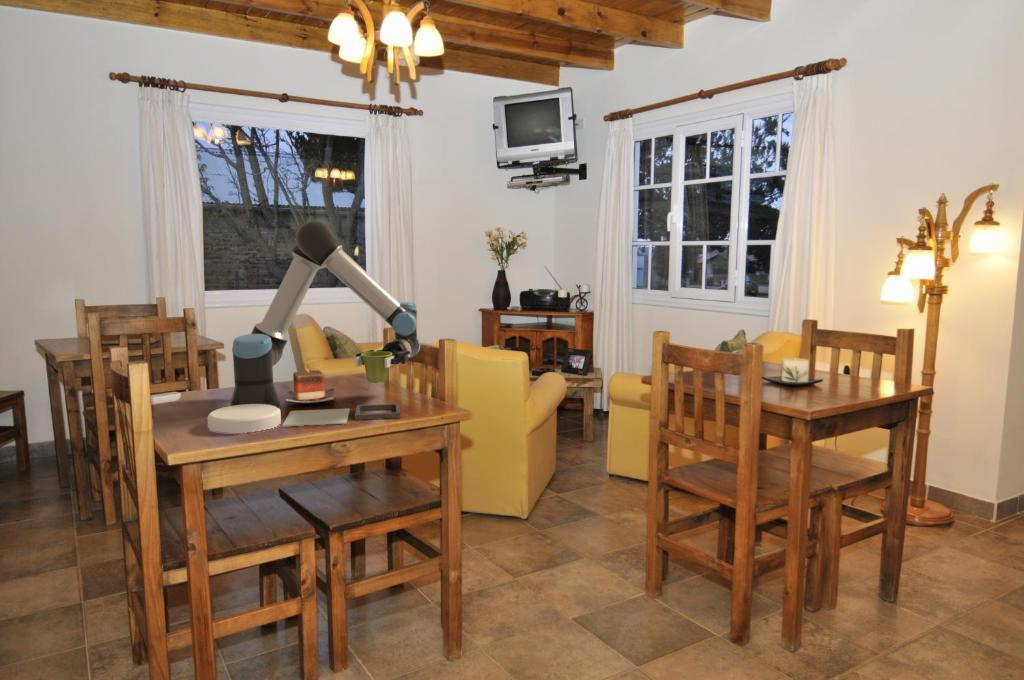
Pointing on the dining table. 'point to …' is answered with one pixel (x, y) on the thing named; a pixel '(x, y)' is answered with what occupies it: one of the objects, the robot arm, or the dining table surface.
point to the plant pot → (376, 366)
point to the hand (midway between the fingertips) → (371, 362)
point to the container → (244, 418)
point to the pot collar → (377, 415)
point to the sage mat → (316, 417)
